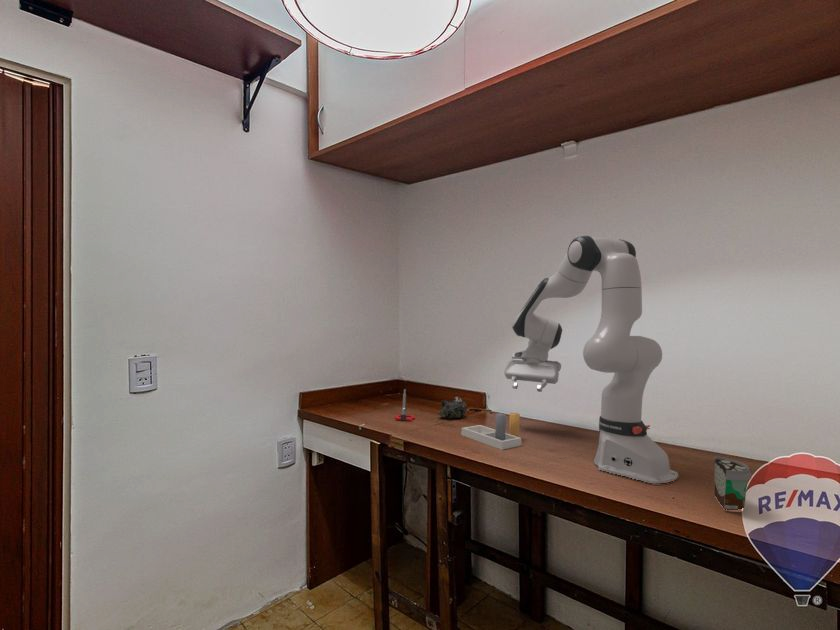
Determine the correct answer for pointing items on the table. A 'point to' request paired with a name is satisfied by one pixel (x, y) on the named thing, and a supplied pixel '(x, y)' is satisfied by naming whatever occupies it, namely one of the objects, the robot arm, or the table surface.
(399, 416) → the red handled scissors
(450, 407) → the mineral specimen
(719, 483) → the food container
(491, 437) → the white divided tray
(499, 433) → the grey rounded peg
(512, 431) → the domed orange pawn
